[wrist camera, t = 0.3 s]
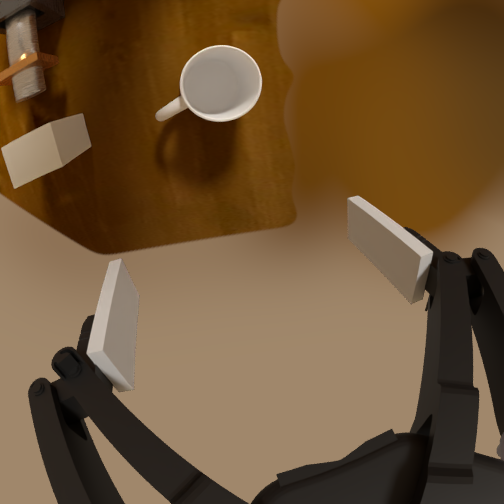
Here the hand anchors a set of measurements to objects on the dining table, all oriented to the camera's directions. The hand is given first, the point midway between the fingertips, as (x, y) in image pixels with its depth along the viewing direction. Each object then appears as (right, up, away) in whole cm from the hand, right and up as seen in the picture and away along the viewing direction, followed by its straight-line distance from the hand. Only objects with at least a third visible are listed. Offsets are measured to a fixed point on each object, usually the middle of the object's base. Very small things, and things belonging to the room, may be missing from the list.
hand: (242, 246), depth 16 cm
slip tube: (-27, +27, +4) cm, 38 cm away
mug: (-7, +21, +19) cm, 29 cm away
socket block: (-25, +15, +16) cm, 34 cm away
